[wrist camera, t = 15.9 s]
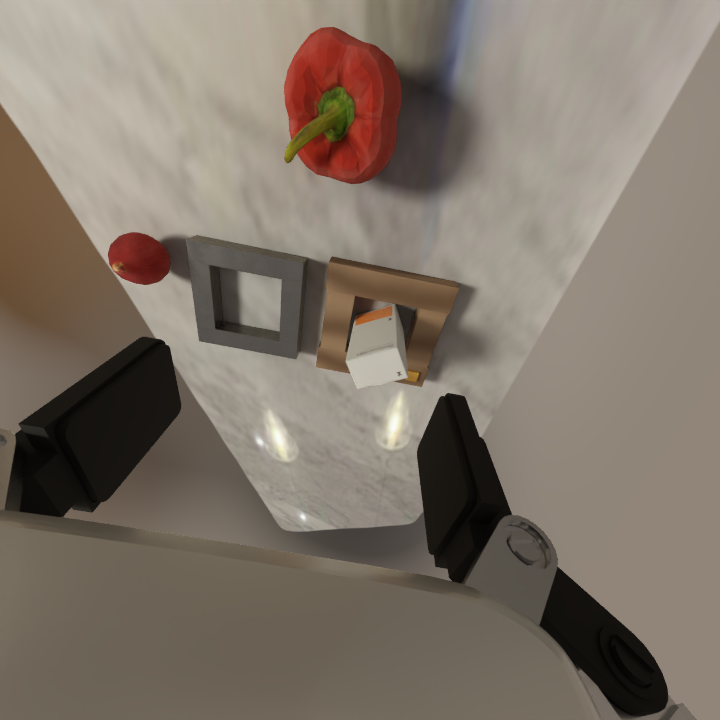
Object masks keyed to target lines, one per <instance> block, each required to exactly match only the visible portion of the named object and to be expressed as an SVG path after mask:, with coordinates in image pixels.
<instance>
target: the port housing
mask: <svg viewBox="0 0 720 720" xmlns="http://www.w3.org/2000/svg"><path fill="white" fill-rule="evenodd" d="M326 290H327V298H326V306H325V314H324V322H323V330H322V338H321V342H320V344H319V347H318V355H317V364H316V367H318V368H323V369H329V370H334V371H340V372H345V373H350V371H349V368H348V366H347V364H346V357H347V352H348V347H349V344H348V343H347V338H348V333H349V327H350V322H351V316H352V311H353V305H354V300H355V296H359V297H364V298H369V299H374V300H379V301H384V302H389V303H394V304H399V305H404V306H409V307H414V308H417V309H416V312H415V315H414V318H413V322H412V325H411V328H410V331H409V334H408V338H407V341H406V344H405V349H406V359H407V370H408V376H409V377H408V378H406V379H401V380H397V381H393V382H399V383H404V384H410V385H415V386H420V387H422V385H423V382H424V380H425V377H426V374H427V372H428V369H429V366H428V364H429V362H430V359H431V356H432V354H433V351H434V348H435V346H436V343H437V340H438V338H439V335H440V333H441V330H442V327H443V325H444V322H445V319H446V317H447V314H450V311H451V309H452V306H453V303H454V301H455V298H456V296H457V293H458V290H459V287H458V286H457V284H456V282H454V281H449V280H444V279H439V278H435V277H430V276H425V275H420V274H415V273H410V272H405V271H400V270H395V269H390V268H385V267H380V266H376V265H371V264H366V263H361V262H356V261H351V260H346V259H341V258H336V257H331V259H330V261H329V266H328V274H327V282H326ZM350 374H351V373H350Z"/></svg>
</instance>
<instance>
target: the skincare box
mask: <svg viewBox="0 0 720 720" xmlns="http://www.w3.org/2000/svg"><path fill="white" fill-rule="evenodd" d="M346 364H347V366H348V368H349V371H350V373H351V376H352V378H353V380H354V383H355V385H356V387H357V389H362V388H366V387H371V386H377V385H382V384H386V383H389V382H393V381H397V380H401V379H406V378H408V377H409V376H408V370H407V359H406V349H405V340H404V330H403V326H402V323H401V319H400V316H399V313H398V310H397V306H396V304H392V305H389V306H386V307H383V308H379V309H376V310H373V311H369V312H365V313H362V314H358V315H356V316H355V320H354V324H353V329H352V334H351V338H350V343H349V347H348V352H347V357H346Z"/></svg>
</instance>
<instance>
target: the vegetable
mask: <svg viewBox="0 0 720 720" xmlns="http://www.w3.org/2000/svg"><path fill="white" fill-rule="evenodd" d="M284 94H285V104H286V109H287V112H288V116H289V131H290V135H291V142H290V143H289V145H288V147H287V149H286V152H285V158H284V159H285V162H286V163H289V162H291V161H292V159H293V158H294V156H295V155H296V153H297V154H298V156H299V157H300V159H301V160H302V161H303V163H304V164H305V165H306V167H308V168H309V169H310V170H312V171H313V172H314V173H316V174H317V175H322V176H326V177H330V178H333V179H336V180H339V181H342V182H346V183H350V184H358V183H363V182H365V181H368V180H370V179H372V178H373V177H375V176H376V175H377V174H379V173H380V172H381V171H382V170H383V169H384V168H385V167H386V166H387V164H388V163H389V161H390V159H391V157H392V155H393V153H394V150H395V146H396V142H397V119H398V116H399V112H400V109H401V103H402V89H401V84H400V78H399V75H398V72H397V70H396V67H395V65H394V62H393V60H392V59H391V58H390V57H389V56H387V55H386V54H385V53H384V52H383V51H381V50H380V49H379V48H378V47H377V46H375V45H372V44H369V43H365V42H362V41H360V40H358V39H356V38H354V37H352V36H350V35H348V34H347V33H345V32H343V31H341V30H340V29H337V28H335V27H326V28H320V29H318V30H317V31H315V32H313V33H312V34H310V36H309V37H308V38H307V39H306V40H305V42H304V43H303V44H302V45H301V47H300V48H299V50H298V51H297V53H296V54H295V56H294V58H293V60H292V62H291V64H290V67H289V69H288V72H287V76H286V81H285V85H284Z"/></svg>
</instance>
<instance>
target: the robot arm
mask: <svg viewBox="0 0 720 720" xmlns="http://www.w3.org/2000/svg"><path fill="white" fill-rule="evenodd" d="M180 410H181V401H180V396H179V391H178V386H177V381H176V376H175V371H174V366H173V361H172V356H171V351H170V347H169V346H167V345H166V344H165V342H164V341H163V340H160V339H154V338H149V337H141V338H139V339H138V340H136V341H135V342H133V343H132V344H130V345H129V346H128V347H126V348H125V349H123V350H122V351H121V352H119V353H118V354H116V355H115V356H114V357H112V358H111V359H109V360H108V361H106V362H105V363H104V364H102V365H101V366H99V367H98V368H97V369H95V370H94V371H92V372H91V373H89V374H88V375H87V376H85V377H84V378H83V379H81V380H80V381H78V382H77V383H75V384H74V385H73V386H71V387H70V388H68V389H67V390H65V391H64V392H63V393H62V394H60V395H59V396H57V397H56V398H54V399H53V400H51V401H50V402H49V403H47V404H46V405H44V406H43V407H41V408H40V409H39V410H37V411H36V412H34V413H33V414H32V415H30V416H29V417H28V418H26V419H24V420H23V421H22V422H20V423H19V425H20V427H21V430H20V431H19V432H17V433H16V434H13V433H12V432H11V431H9V430H5V429H0V720H696V719H695V717H694V716H693V715H692V714H691V713H690V711H689V710H688V709H687V708H686V707H685V705H684V704H683V703H680V704H675V702H674V701H673V700H672V699H671V698H670V696H669V695H668V690H667V685H666V683H665V680H664V676H663V674H662V672H661V670H660V668H659V666H658V664H657V663H656V661H655V659H654V657H653V656H652V655H651V653H650V652H649V651H648V649H647V648H646V647H645V646H644V644H643V643H642V642H641V641H640V640H639V639H638V638H637V637H636V636H635V635H634V634H633V633H632V632H631V631H629V630H628V629H627V628H626V627H625V626H624V625H623V624H622V623H621V622H619V621H618V620H617V619H616V618H615V617H614V616H612V615H611V614H610V613H609V612H608V611H607V610H606V609H605V608H604V607H603V606H601V605H600V604H599V603H598V602H597V601H596V600H595V599H594V598H592V597H591V596H590V595H589V594H588V593H587V592H586V591H584V590H583V589H582V588H581V587H580V586H579V585H578V584H577V583H575V582H574V581H573V580H572V579H571V578H570V577H569V576H568V575H566V574H565V573H564V572H563V571H562V570H561V569H560V568H558V567H557V565H558V558H557V554H556V550H555V548H554V546H553V544H552V543H551V541H550V539H549V538H548V537H547V535H546V534H545V533H544V532H543V531H542V530H541V529H540V528H539V527H538V526H537V525H536V524H534V523H533V522H531V521H530V520H528V519H526V518H523V517H521V516H518V515H512V513H511V511H510V508H509V506H508V503H507V500H506V497H505V495H504V492H503V489H502V486H501V484H500V481H499V479H498V476H497V473H496V470H495V468H494V465H493V462H492V459H491V457H490V454H489V451H488V449H487V446H486V443H485V442H484V440H483V439H482V438H481V437H479V434H478V432H477V429H476V426H475V423H474V420H473V418H472V415H471V412H470V409H469V406H468V404H467V401H466V398H465V397H464V396H461V395H456V394H451V393H447V394H446V395H445V397H444V396H441V397H440V398H439V400H438V402H437V405H436V407H435V409H434V412H433V414H432V416H431V419H430V421H429V423H428V425H427V428H426V430H425V432H424V435H423V437H422V439H421V442H420V444H419V446H418V450H417V459H418V468H419V476H420V484H421V493H422V501H423V510H424V518H425V527H426V534H427V543H428V550H429V553H430V554H431V555H434V559H435V566H436V567H440V568H446V569H448V574H449V578H450V579H451V580H452V581H448V580H444V579H439V578H435V577H430V576H426V575H420V574H415V573H409V572H404V571H398V570H393V569H387V568H382V567H376V566H370V565H364V564H358V563H352V562H346V561H339V560H333V559H327V558H321V557H315V556H308V555H302V554H296V553H290V552H284V551H278V550H271V549H265V548H258V547H252V546H246V545H240V544H233V543H227V542H220V541H213V540H208V539H201V538H194V537H188V536H182V535H176V534H169V533H162V532H156V531H148V530H143V529H136V528H129V527H122V526H116V525H110V524H103V523H96V522H89V521H83V520H76V519H69V518H64V515H65V513H67V511H68V510H69V509H70V508H71V507H72V508H73V509H74V510H80V511H86V512H93V511H94V510H95V509H96V508H97V506H98V505H99V504H100V503H101V502H104V501H106V500H108V499H109V498H110V497H111V495H113V493H114V492H115V491H116V489H117V488H118V487H119V486H120V485H121V483H122V482H123V481H124V480H125V479H126V478H127V476H128V475H129V474H130V473H131V471H132V470H133V469H134V468H135V467H136V465H137V464H138V463H139V462H140V460H141V459H142V458H143V457H144V456H145V454H146V453H147V452H148V451H149V450H150V448H151V447H152V446H153V445H154V443H155V442H156V441H157V440H158V439H159V437H160V436H161V435H162V434H163V432H164V431H165V430H166V429H167V428H168V426H169V425H170V424H171V423H172V421H173V420H174V419H175V418H176V417H177V416H178V414H179V412H180Z"/></svg>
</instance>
